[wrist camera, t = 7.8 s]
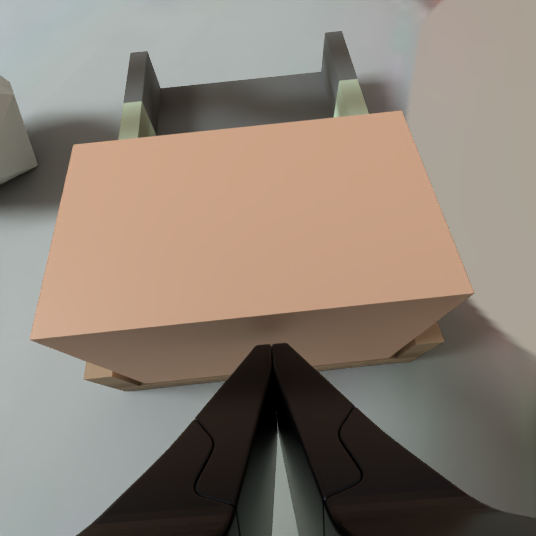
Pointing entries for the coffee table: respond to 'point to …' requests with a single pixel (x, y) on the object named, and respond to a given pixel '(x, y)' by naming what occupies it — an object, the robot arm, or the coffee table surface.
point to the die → (13, 137)
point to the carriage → (247, 248)
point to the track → (243, 115)
